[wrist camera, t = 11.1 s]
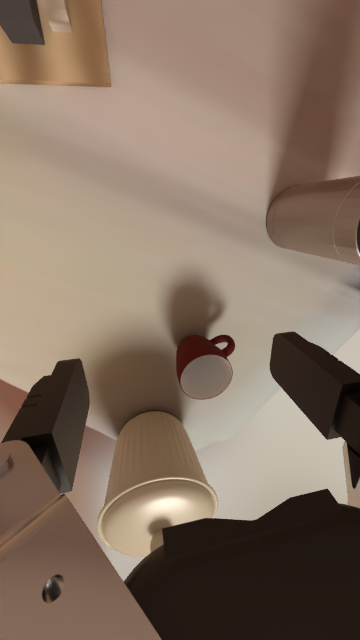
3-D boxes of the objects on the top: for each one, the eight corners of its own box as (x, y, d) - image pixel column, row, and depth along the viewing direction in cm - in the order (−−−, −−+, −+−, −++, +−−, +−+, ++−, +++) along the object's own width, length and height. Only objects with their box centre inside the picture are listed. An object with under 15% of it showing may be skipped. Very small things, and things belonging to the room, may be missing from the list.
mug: (207, 307, 43) (228, 332, 34) (231, 338, 46) (255, 368, 37) (160, 343, 44) (168, 377, 35) (186, 371, 47) (199, 408, 38)
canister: (86, 440, 49) (60, 582, 30) (149, 380, 47) (163, 496, 28) (152, 472, 57) (165, 603, 38) (210, 422, 54) (254, 537, 35)
